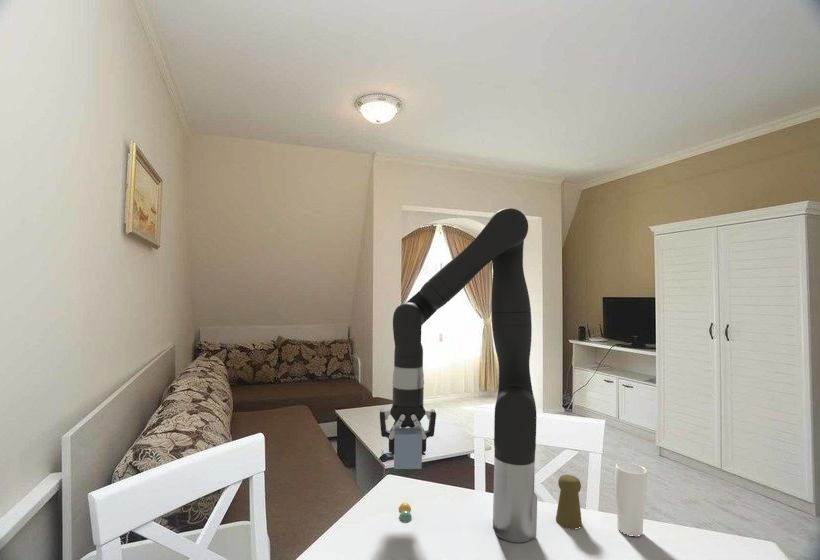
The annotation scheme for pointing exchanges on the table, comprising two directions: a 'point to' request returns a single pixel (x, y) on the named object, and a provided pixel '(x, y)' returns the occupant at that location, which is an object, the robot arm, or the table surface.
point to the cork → (569, 502)
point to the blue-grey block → (408, 448)
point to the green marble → (405, 516)
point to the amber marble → (404, 507)
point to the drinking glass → (630, 497)
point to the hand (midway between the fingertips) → (407, 453)
